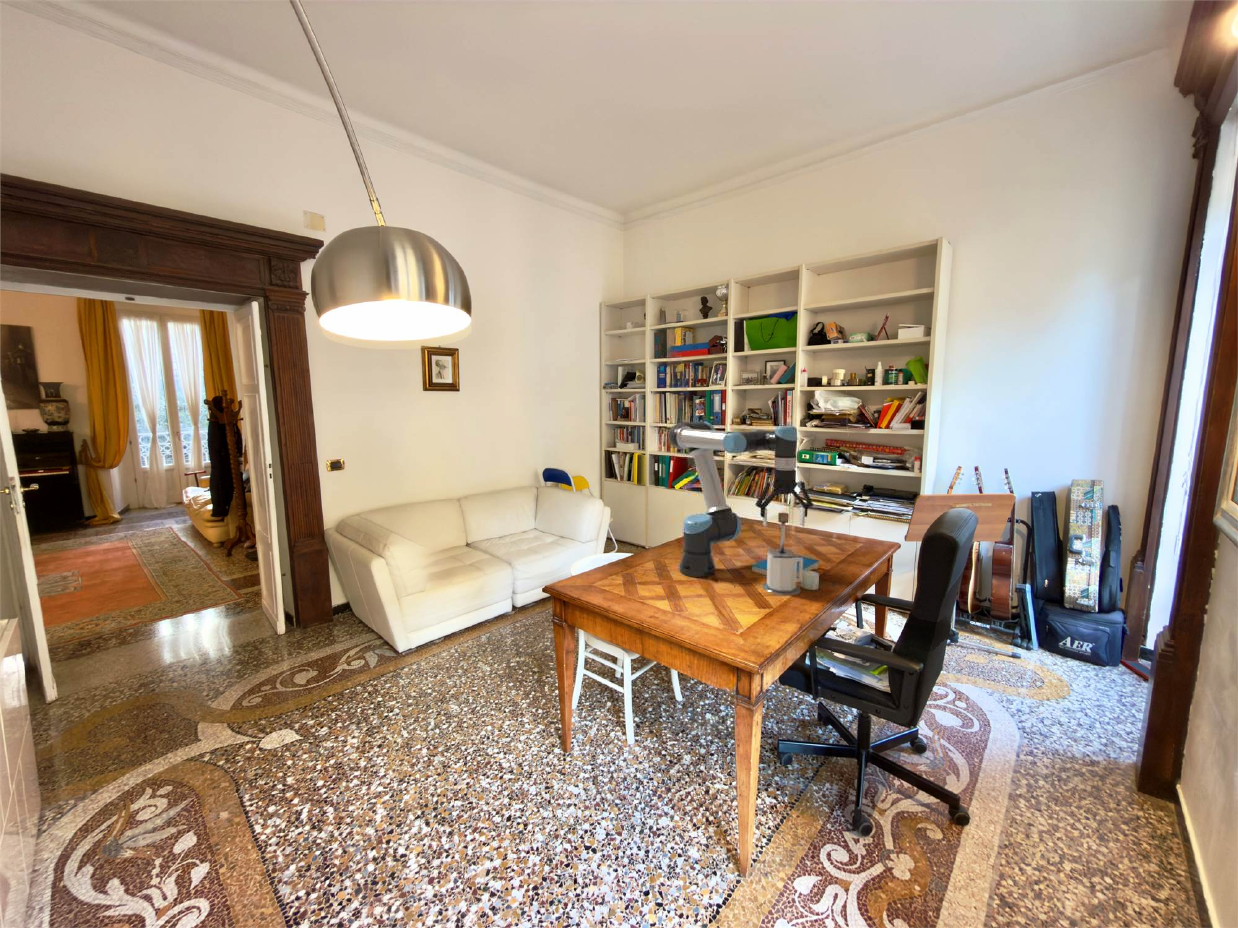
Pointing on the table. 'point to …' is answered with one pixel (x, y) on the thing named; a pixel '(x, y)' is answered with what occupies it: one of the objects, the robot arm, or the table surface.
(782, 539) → the plunger
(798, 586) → the disc
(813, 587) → the espresso cup
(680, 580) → the table surface
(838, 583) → the table surface
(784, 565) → the cafetiere
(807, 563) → the book
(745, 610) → the table surface
